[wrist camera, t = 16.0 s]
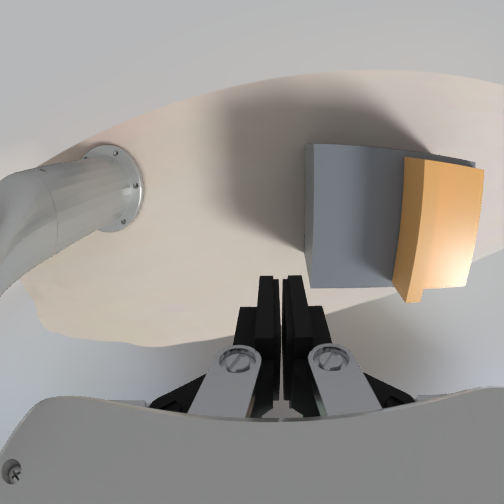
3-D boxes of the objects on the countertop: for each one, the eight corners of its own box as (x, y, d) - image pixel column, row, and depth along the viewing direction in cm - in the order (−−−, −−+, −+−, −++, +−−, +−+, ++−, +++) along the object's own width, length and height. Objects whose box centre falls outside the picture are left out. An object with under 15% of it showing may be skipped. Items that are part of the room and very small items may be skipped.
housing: (304, 252, 36) (310, 288, 27) (304, 144, 31) (313, 143, 22) (424, 253, 34) (457, 283, 25) (433, 155, 29) (475, 162, 20)
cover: (391, 282, 25) (405, 302, 22) (404, 156, 21) (424, 159, 17) (458, 279, 24) (475, 296, 21) (475, 168, 20) (498, 173, 16)
